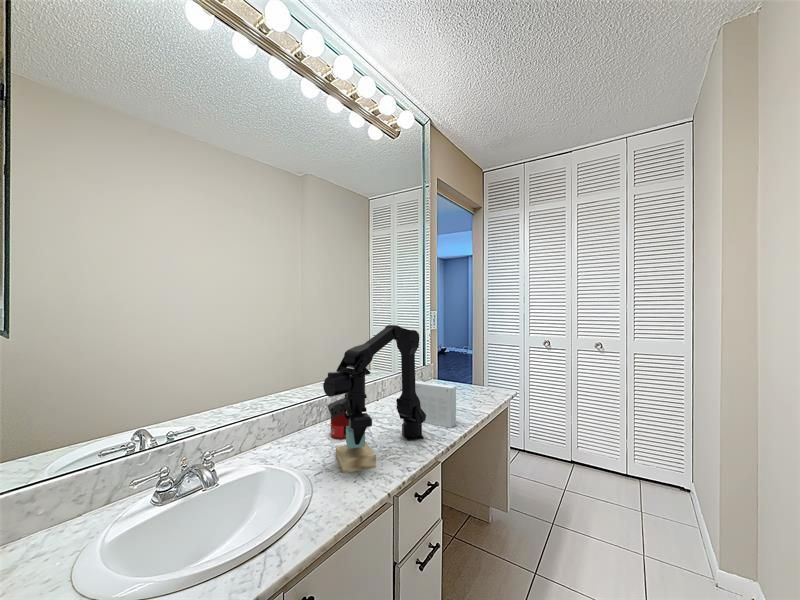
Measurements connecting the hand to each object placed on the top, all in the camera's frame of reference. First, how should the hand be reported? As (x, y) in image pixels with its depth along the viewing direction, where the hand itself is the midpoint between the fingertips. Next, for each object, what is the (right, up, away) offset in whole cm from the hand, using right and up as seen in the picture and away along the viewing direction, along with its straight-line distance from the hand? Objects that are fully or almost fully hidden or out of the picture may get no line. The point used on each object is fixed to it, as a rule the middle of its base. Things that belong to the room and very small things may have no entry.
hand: (355, 441), depth 103 cm
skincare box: (+27, -8, +37) cm, 46 cm away
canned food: (-8, -7, +21) cm, 24 cm away
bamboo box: (0, -7, 0) cm, 7 cm away
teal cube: (0, -1, 0) cm, 1 cm away
